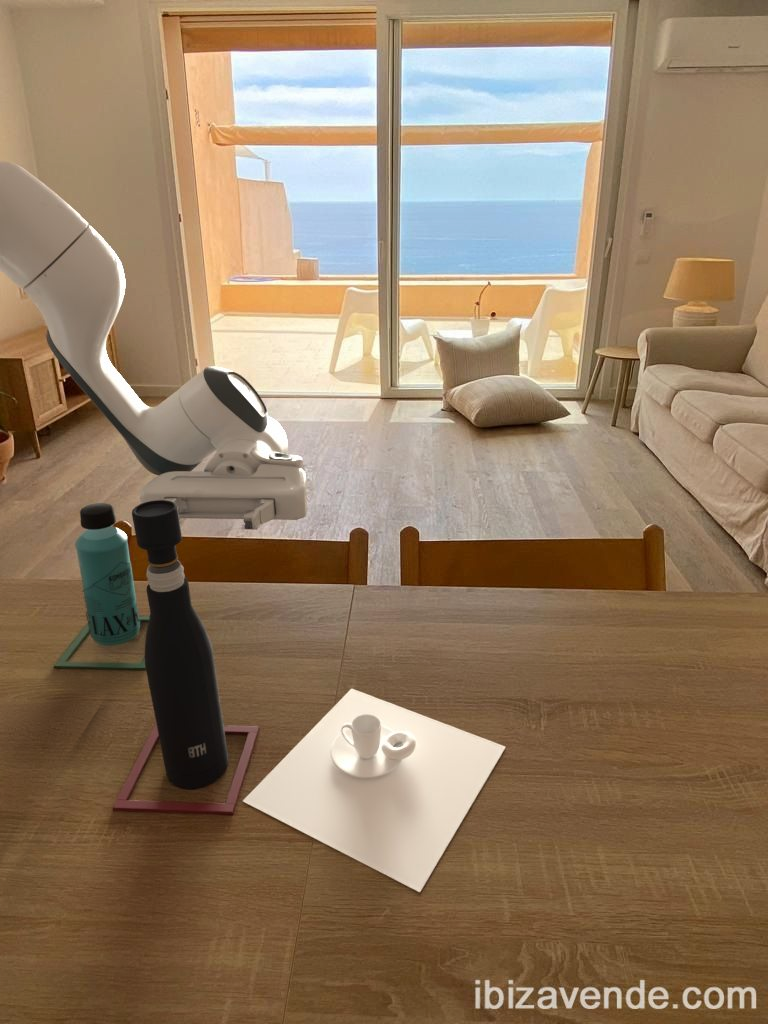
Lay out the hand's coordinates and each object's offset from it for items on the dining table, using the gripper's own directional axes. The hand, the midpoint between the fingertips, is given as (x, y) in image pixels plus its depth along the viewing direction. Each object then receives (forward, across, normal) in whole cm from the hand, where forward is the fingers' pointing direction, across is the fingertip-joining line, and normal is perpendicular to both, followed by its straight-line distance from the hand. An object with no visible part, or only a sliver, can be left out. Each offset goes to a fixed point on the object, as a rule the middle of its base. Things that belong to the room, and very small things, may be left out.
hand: (209, 523), depth 79 cm
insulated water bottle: (+15, +1, +21) cm, 26 cm away
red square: (+15, 0, +21) cm, 26 cm away
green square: (-7, -17, +21) cm, 28 cm away
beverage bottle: (-7, -17, +21) cm, 28 cm away
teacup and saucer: (+15, +20, +21) cm, 33 cm away
